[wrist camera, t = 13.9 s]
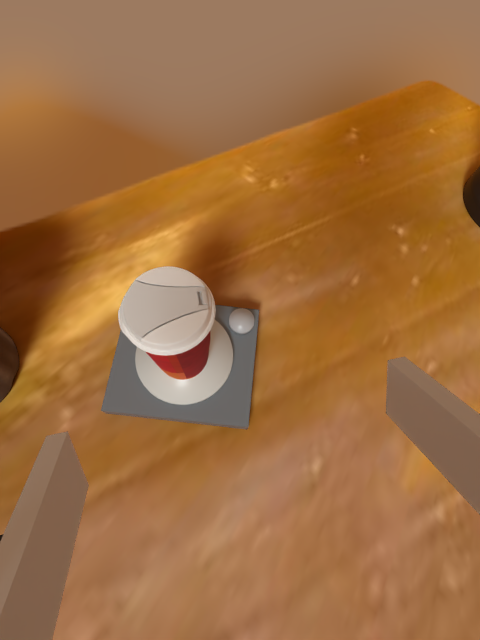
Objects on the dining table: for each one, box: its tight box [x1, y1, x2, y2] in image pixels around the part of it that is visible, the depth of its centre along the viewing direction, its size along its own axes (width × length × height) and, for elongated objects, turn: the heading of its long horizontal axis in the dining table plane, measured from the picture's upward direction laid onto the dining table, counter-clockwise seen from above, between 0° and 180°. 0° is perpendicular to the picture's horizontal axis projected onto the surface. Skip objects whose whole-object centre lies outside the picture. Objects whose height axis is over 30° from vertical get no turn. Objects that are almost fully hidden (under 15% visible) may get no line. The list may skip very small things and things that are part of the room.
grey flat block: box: [101, 305, 259, 429], centre depth 43 cm, size 16×14×3 cm
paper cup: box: [118, 267, 216, 380], centre depth 35 cm, size 8×8×14 cm
